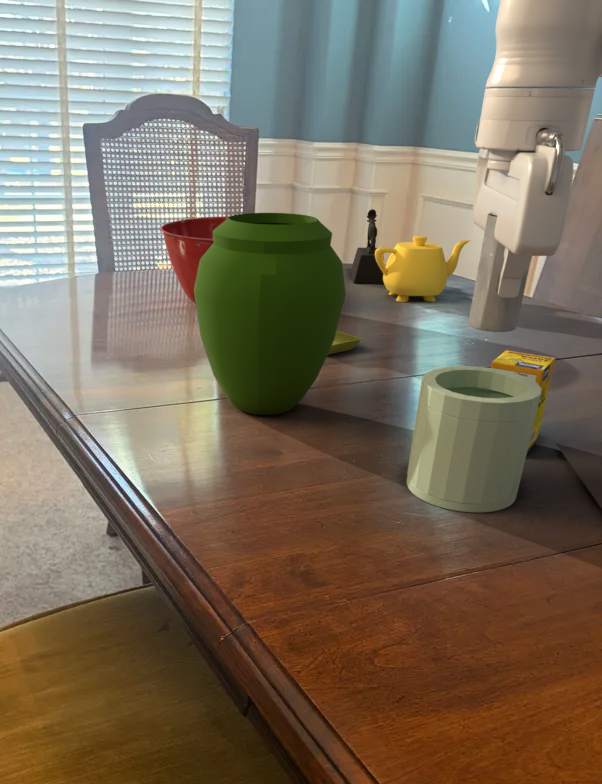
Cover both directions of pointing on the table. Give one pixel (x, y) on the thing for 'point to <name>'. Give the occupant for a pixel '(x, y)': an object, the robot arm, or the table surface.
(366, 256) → the sculpture
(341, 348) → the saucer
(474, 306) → the grey cylinder
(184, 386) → the table surface
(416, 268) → the teapot
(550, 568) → the table surface
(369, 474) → the table surface
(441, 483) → the jar
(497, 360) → the supplement box
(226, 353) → the vase
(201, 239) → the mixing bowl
